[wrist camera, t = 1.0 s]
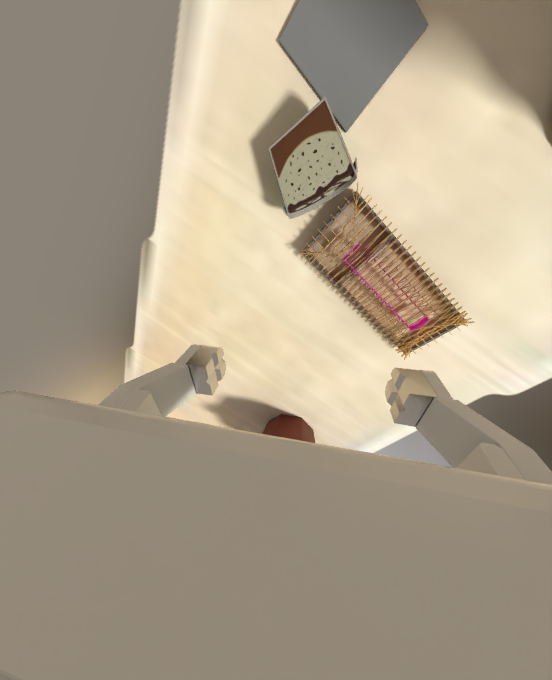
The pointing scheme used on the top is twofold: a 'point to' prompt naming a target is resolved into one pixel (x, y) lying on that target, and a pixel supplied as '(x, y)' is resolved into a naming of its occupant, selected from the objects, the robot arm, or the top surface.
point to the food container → (312, 161)
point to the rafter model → (419, 340)
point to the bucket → (290, 428)
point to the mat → (351, 47)
